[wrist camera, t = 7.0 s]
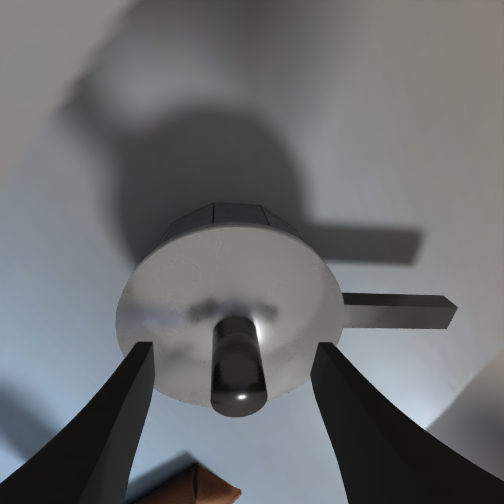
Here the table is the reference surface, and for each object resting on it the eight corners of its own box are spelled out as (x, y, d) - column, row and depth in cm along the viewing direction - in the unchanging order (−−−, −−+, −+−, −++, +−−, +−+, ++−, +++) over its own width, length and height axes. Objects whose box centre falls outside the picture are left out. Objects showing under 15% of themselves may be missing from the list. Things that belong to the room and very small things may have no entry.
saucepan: (154, 338, 20) (140, 387, 16) (146, 197, 15) (124, 223, 12) (392, 339, 22) (425, 382, 19) (442, 218, 18) (498, 245, 14)
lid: (121, 392, 16) (90, 481, 12) (119, 203, 12) (67, 251, 8) (307, 398, 18) (331, 477, 14) (369, 239, 13) (431, 291, 10)
